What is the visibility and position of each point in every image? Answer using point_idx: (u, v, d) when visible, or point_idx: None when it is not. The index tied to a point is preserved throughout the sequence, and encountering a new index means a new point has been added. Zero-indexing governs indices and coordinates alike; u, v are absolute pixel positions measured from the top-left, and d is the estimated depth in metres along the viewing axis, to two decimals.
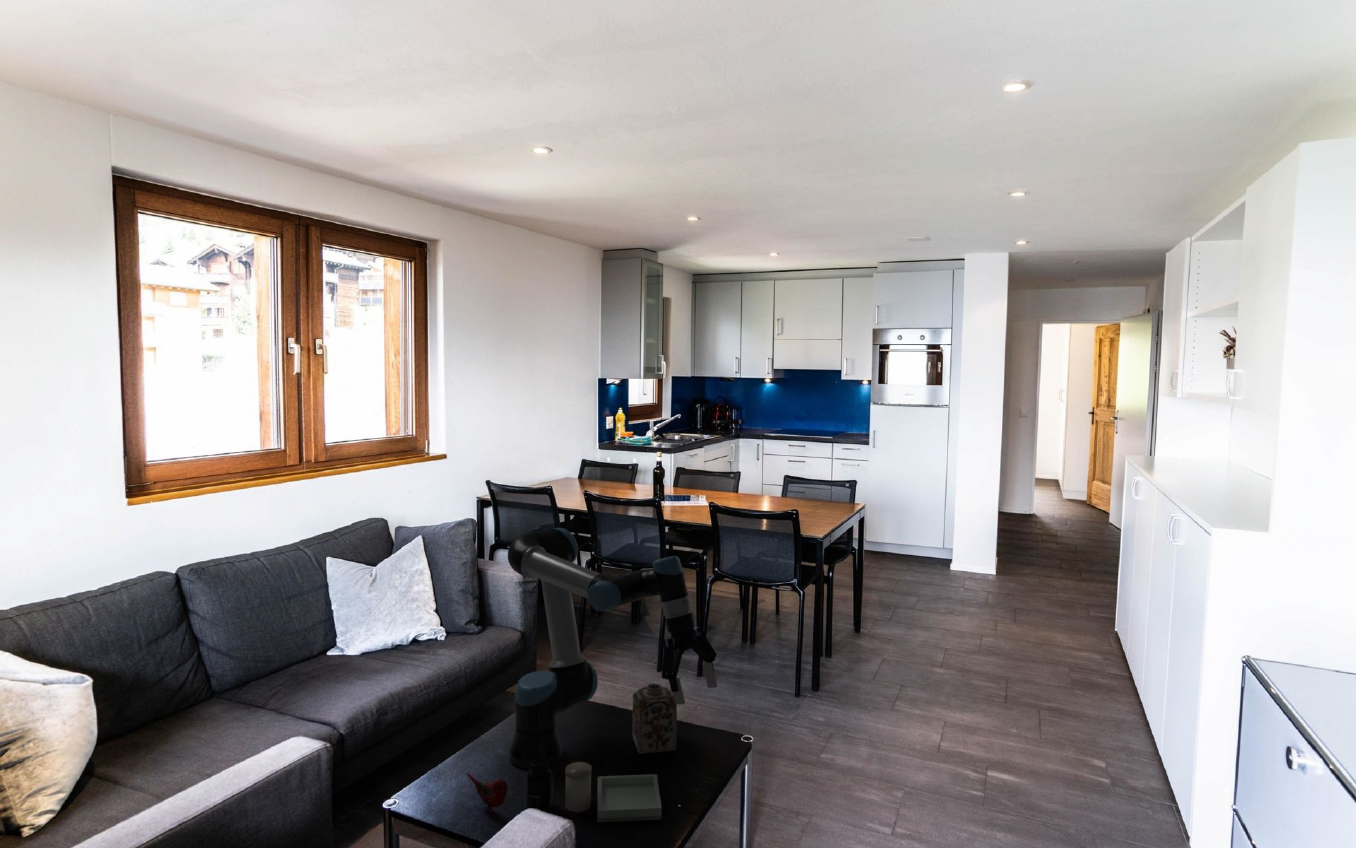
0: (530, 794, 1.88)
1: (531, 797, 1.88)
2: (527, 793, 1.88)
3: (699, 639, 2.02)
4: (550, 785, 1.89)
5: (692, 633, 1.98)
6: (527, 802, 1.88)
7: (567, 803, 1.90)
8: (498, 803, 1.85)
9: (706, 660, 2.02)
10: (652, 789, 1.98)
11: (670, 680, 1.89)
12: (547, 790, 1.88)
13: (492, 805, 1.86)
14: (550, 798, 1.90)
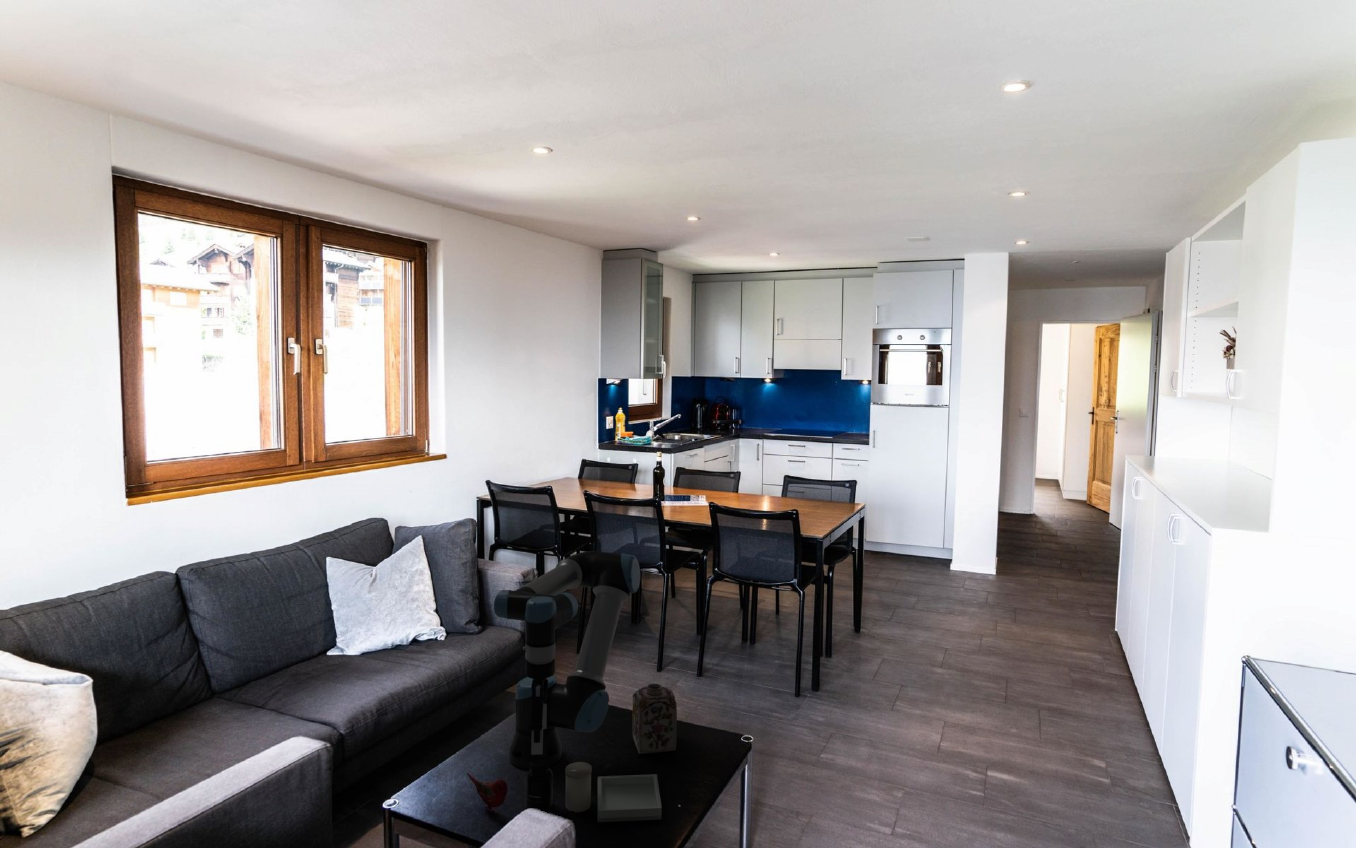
0: (530, 794, 1.88)
1: (531, 797, 1.88)
2: (527, 793, 1.88)
3: None
4: (550, 785, 1.89)
5: None
6: (527, 802, 1.88)
7: (567, 803, 1.90)
8: (498, 803, 1.85)
9: None
10: (652, 789, 1.98)
11: None
12: (547, 790, 1.88)
13: (492, 805, 1.86)
14: (550, 798, 1.90)
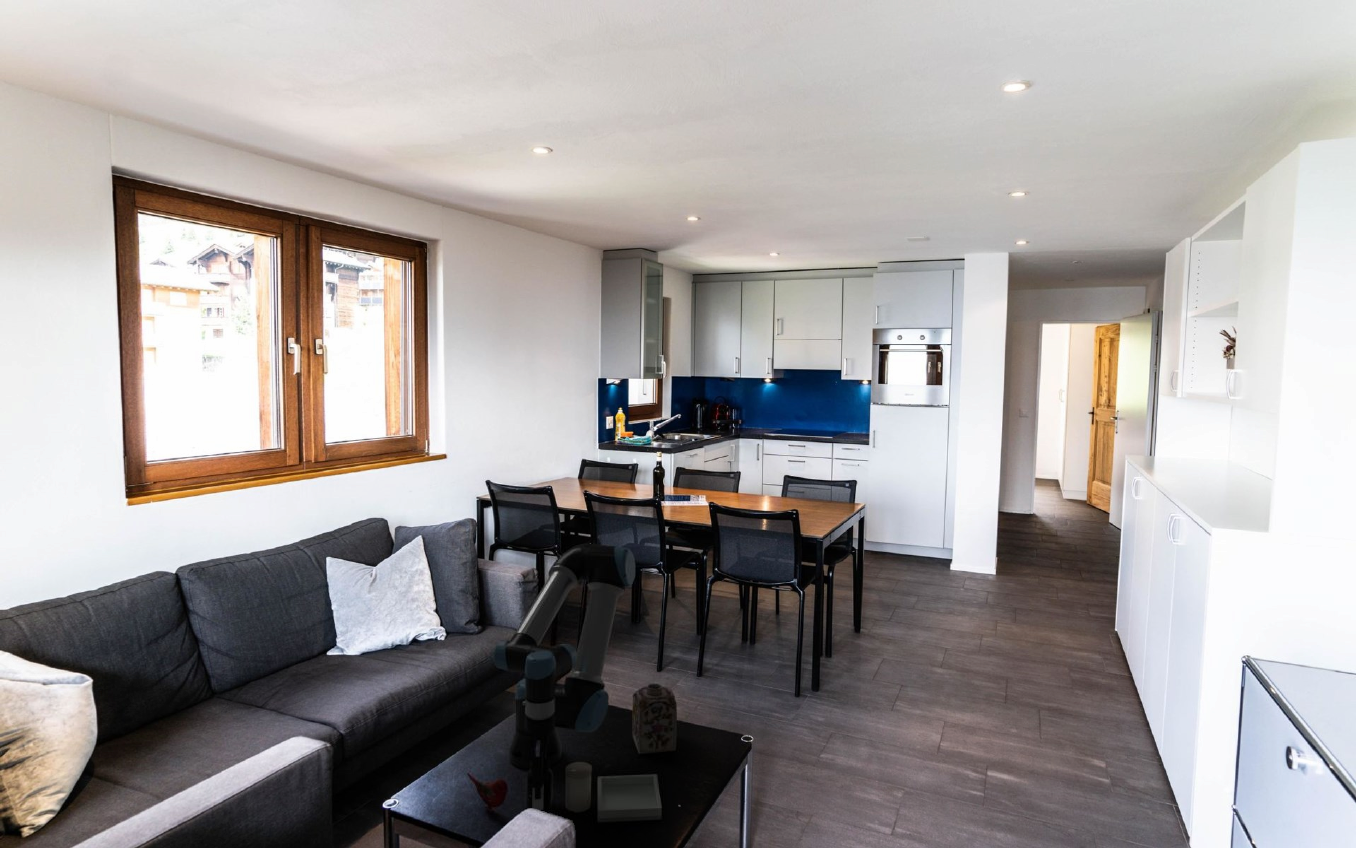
0: (530, 794, 1.88)
1: (531, 797, 1.88)
2: (527, 793, 1.88)
3: None
4: (550, 785, 1.89)
5: (534, 740, 1.87)
6: (527, 802, 1.88)
7: (567, 803, 1.90)
8: (498, 803, 1.85)
9: None
10: (652, 789, 1.98)
11: None
12: (547, 790, 1.88)
13: (492, 805, 1.86)
14: (550, 798, 1.90)
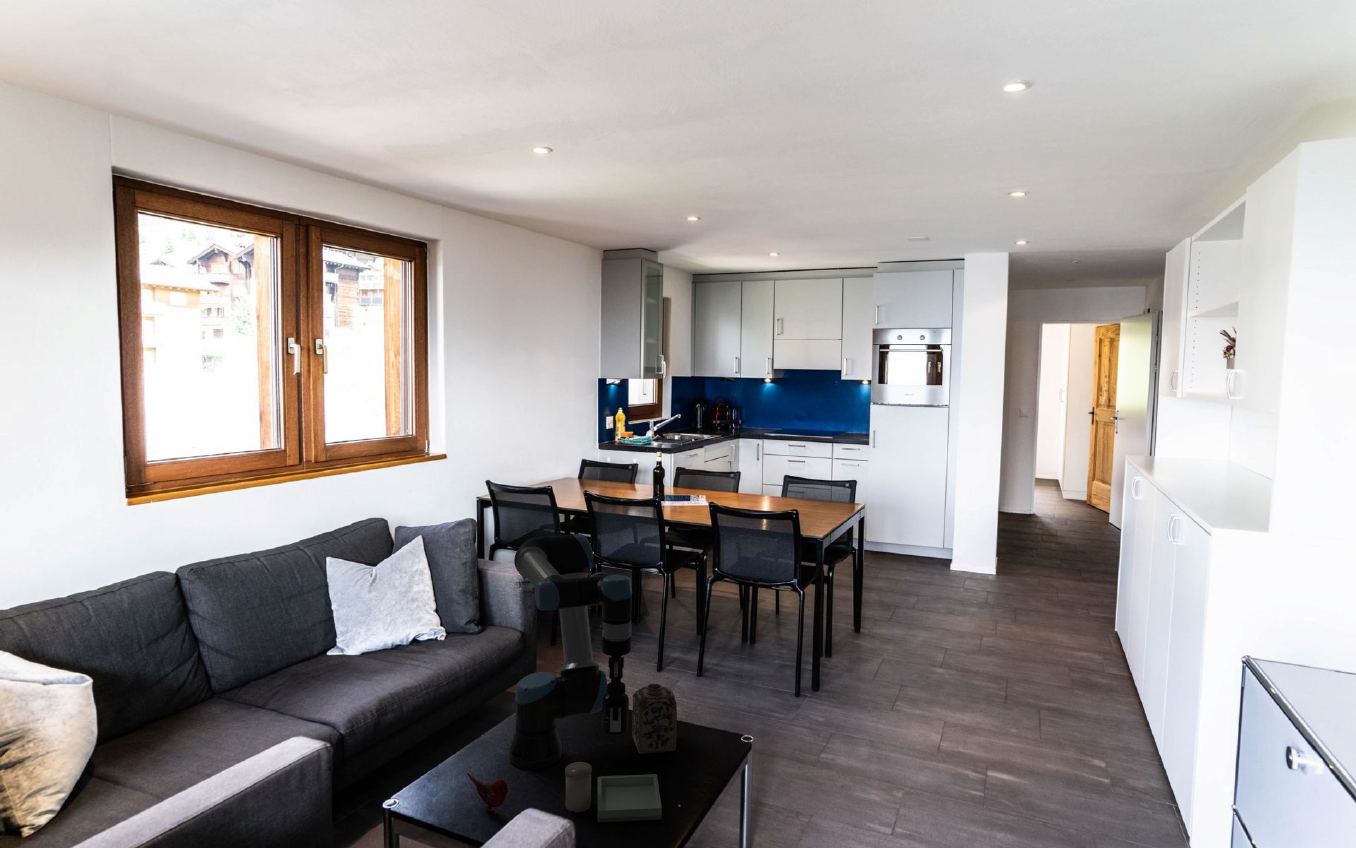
0: (607, 716, 1.88)
1: (608, 719, 1.88)
2: (604, 715, 1.89)
3: None
4: (627, 708, 1.89)
5: (611, 661, 1.88)
6: (604, 724, 1.89)
7: (567, 803, 1.90)
8: (498, 803, 1.85)
9: None
10: (652, 789, 1.98)
11: None
12: (623, 713, 1.89)
13: (492, 805, 1.86)
14: (626, 721, 1.90)
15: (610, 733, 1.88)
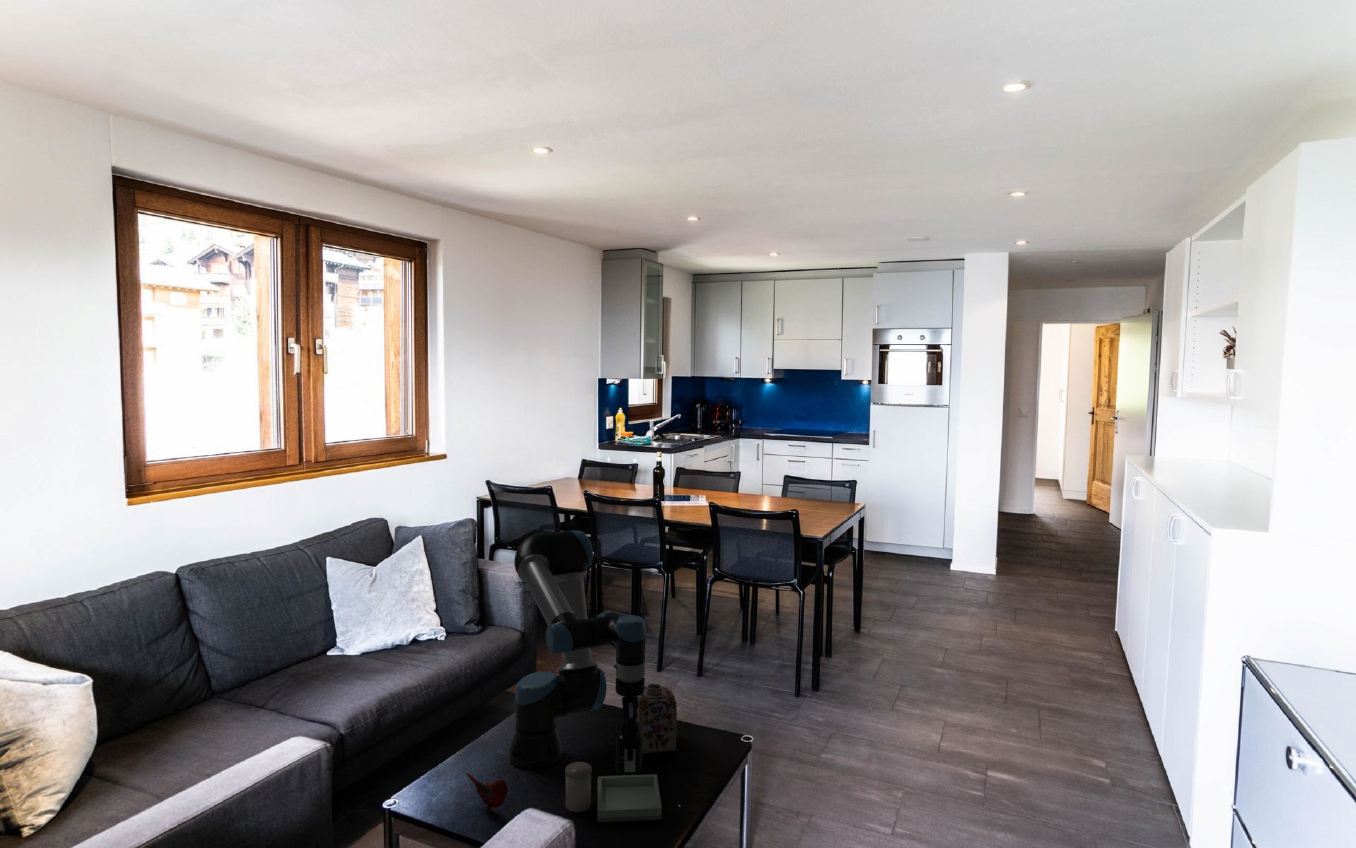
0: (622, 756, 1.89)
1: (623, 759, 1.89)
2: (618, 755, 1.90)
3: None
4: (641, 747, 1.91)
5: (626, 702, 1.89)
6: (618, 764, 1.90)
7: (567, 803, 1.90)
8: (498, 803, 1.85)
9: None
10: (652, 789, 1.98)
11: None
12: (638, 753, 1.90)
13: (492, 805, 1.86)
14: (640, 760, 1.91)
15: (624, 773, 1.89)
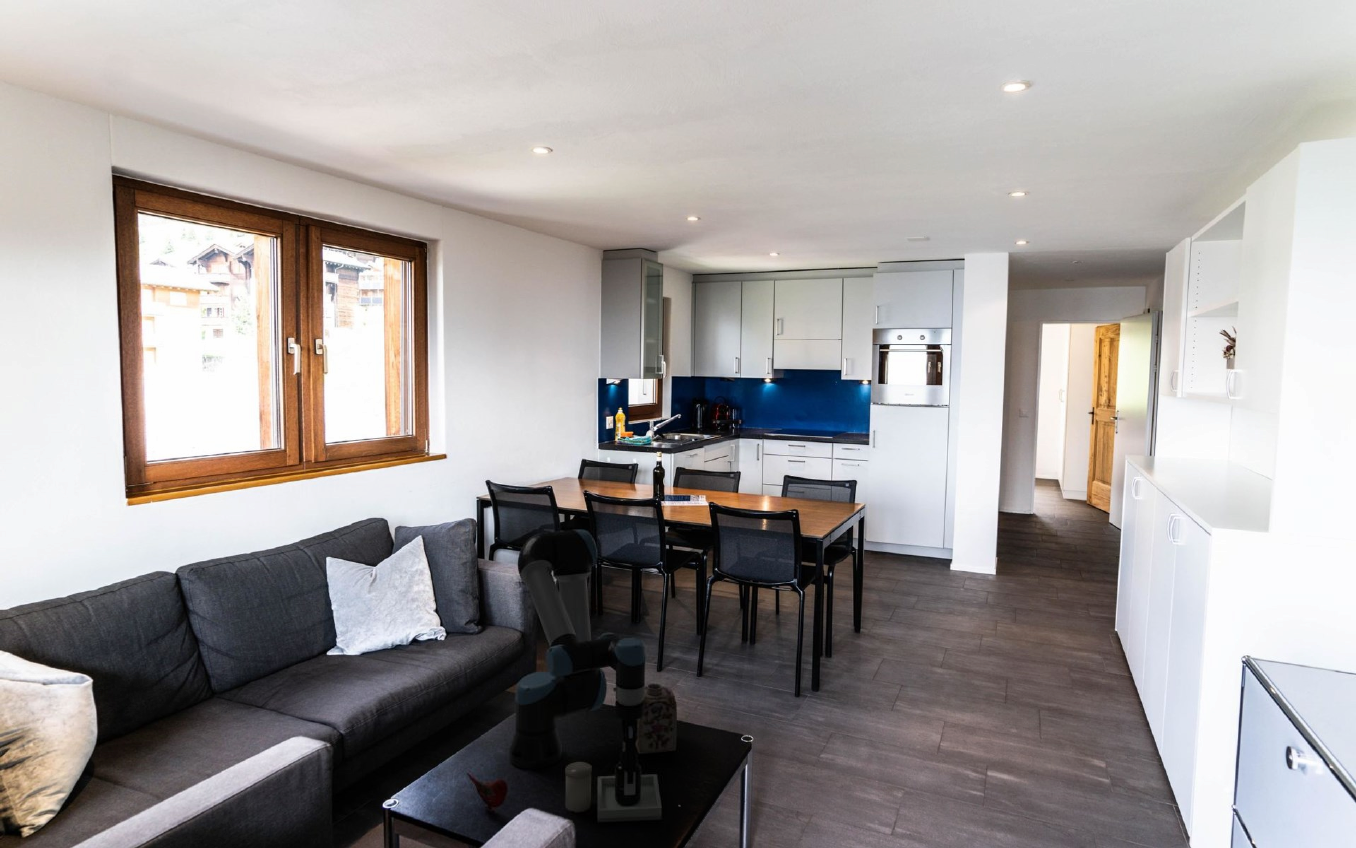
0: (621, 787, 1.90)
1: (622, 790, 1.90)
2: (617, 786, 1.91)
3: None
4: (639, 778, 1.91)
5: (625, 726, 1.89)
6: (617, 795, 1.91)
7: (567, 803, 1.90)
8: (498, 803, 1.85)
9: None
10: (652, 789, 1.98)
11: None
12: (637, 783, 1.90)
13: (492, 805, 1.86)
14: (639, 790, 1.92)
15: (624, 804, 1.90)
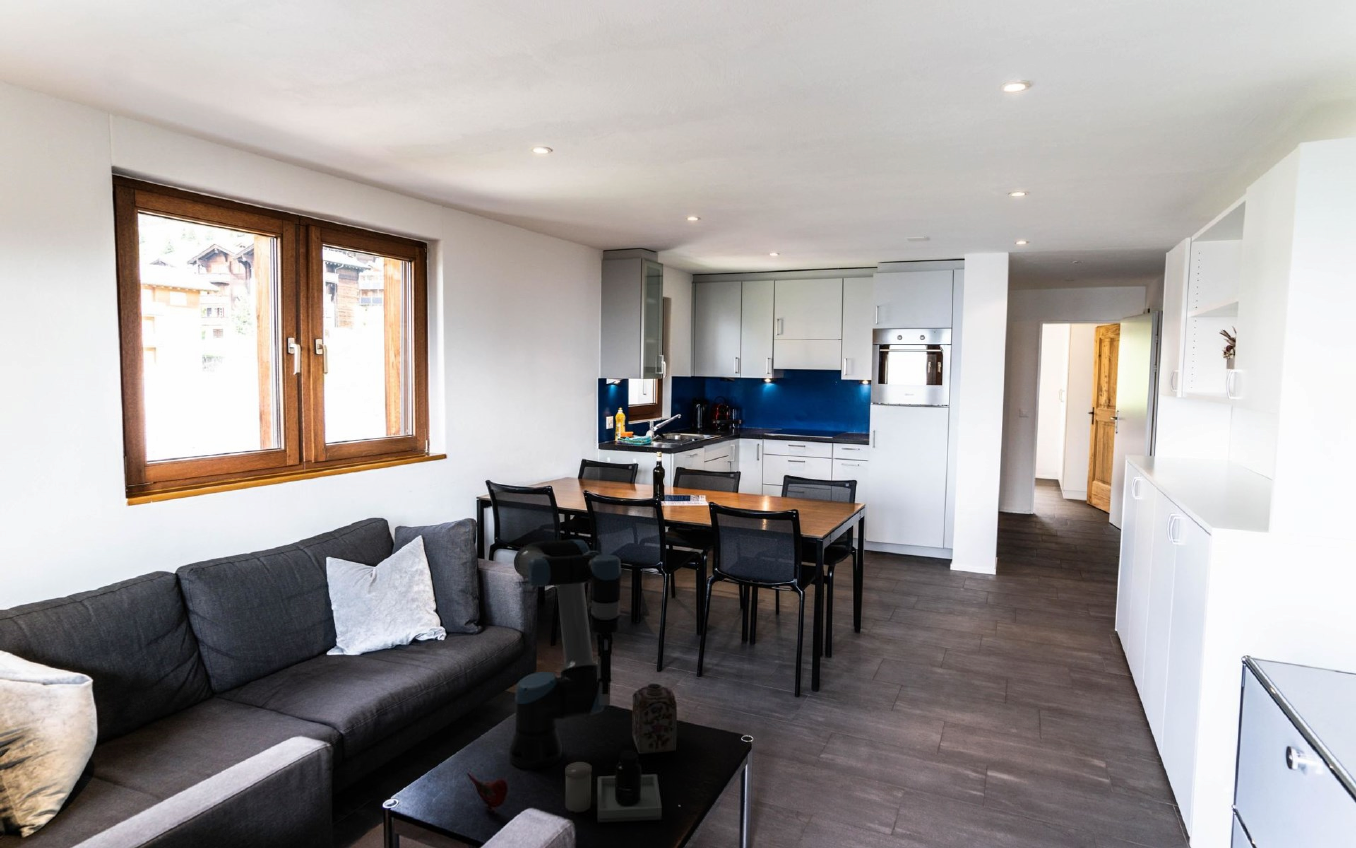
0: (621, 787, 1.90)
1: (622, 790, 1.90)
2: (617, 786, 1.91)
3: None
4: (640, 778, 1.91)
5: (600, 639, 1.92)
6: (617, 795, 1.91)
7: (567, 803, 1.90)
8: (498, 803, 1.85)
9: None
10: (652, 789, 1.98)
11: None
12: (637, 783, 1.90)
13: (492, 805, 1.86)
14: (639, 790, 1.92)
15: (624, 804, 1.90)
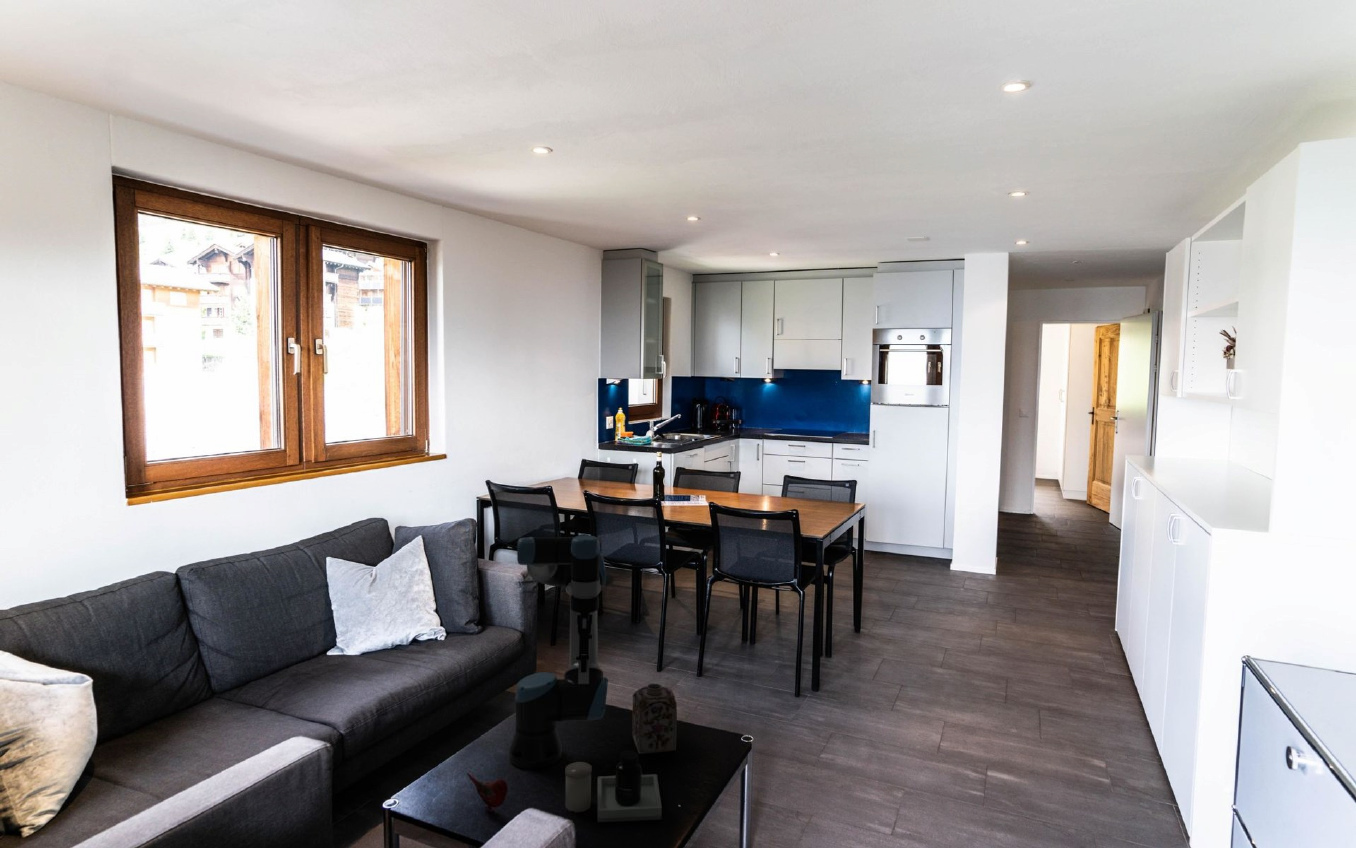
0: (621, 787, 1.90)
1: (622, 790, 1.90)
2: (618, 786, 1.91)
3: None
4: (640, 778, 1.91)
5: (580, 619, 1.95)
6: (617, 795, 1.91)
7: (567, 803, 1.90)
8: (498, 803, 1.85)
9: None
10: (652, 789, 1.98)
11: None
12: (637, 783, 1.90)
13: (492, 805, 1.86)
14: (640, 791, 1.92)
15: (624, 804, 1.90)
